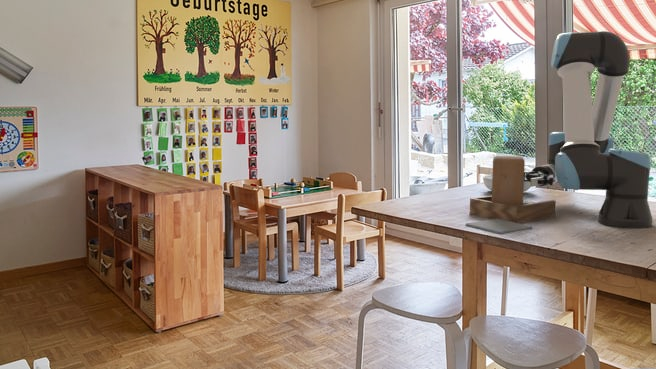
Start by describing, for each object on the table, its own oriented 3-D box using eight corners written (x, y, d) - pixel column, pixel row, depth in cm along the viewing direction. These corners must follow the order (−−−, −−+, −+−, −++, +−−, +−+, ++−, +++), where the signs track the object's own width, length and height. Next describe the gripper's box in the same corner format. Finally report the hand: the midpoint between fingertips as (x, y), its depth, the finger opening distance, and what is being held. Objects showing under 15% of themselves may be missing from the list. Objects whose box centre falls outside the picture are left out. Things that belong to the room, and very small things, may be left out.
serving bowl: (543, 193, 234) (543, 177, 233) (513, 198, 222) (514, 181, 221) (501, 187, 251) (502, 172, 250) (472, 192, 239) (472, 176, 238)
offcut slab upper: (543, 209, 188) (543, 203, 188) (537, 211, 186) (537, 204, 186) (522, 206, 194) (522, 200, 194) (516, 207, 192) (516, 201, 192)
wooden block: (491, 217, 185) (493, 158, 182) (491, 212, 194) (493, 155, 191) (522, 219, 182) (524, 159, 179) (521, 213, 191) (523, 156, 188)
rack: (554, 216, 185) (555, 200, 184) (513, 223, 174) (514, 206, 174) (509, 208, 201) (510, 193, 200) (469, 213, 191) (470, 198, 190)
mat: (532, 228, 168) (532, 226, 168) (500, 233, 161) (500, 231, 161) (496, 220, 180) (497, 218, 180) (465, 225, 173) (465, 223, 173)
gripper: (577, 189, 194) (546, 195, 181) (514, 182, 213) (482, 187, 200) (578, 168, 193) (548, 173, 180) (514, 162, 212) (482, 167, 199)
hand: (513, 180), depth 190 cm, fingers open, 13 cm apart
